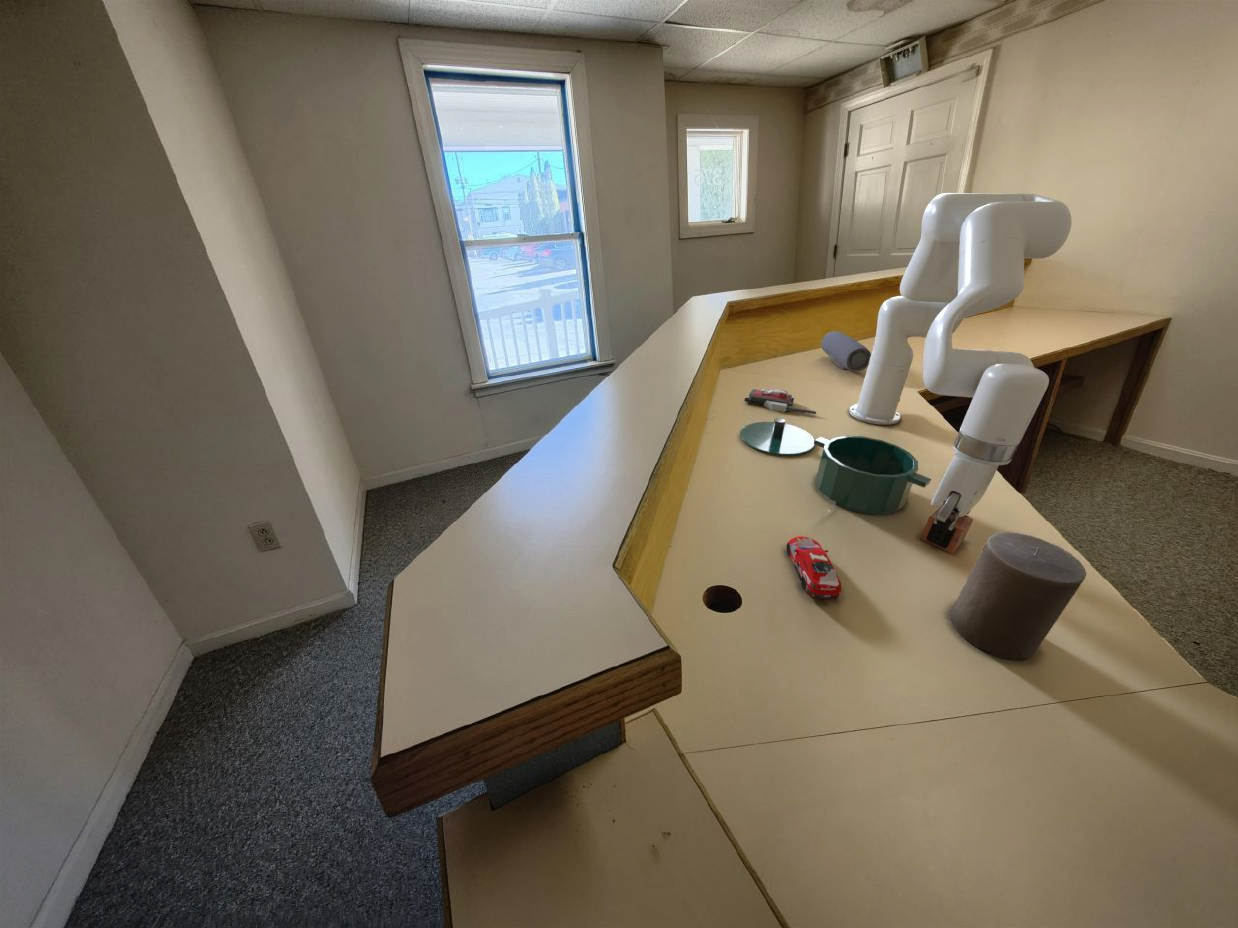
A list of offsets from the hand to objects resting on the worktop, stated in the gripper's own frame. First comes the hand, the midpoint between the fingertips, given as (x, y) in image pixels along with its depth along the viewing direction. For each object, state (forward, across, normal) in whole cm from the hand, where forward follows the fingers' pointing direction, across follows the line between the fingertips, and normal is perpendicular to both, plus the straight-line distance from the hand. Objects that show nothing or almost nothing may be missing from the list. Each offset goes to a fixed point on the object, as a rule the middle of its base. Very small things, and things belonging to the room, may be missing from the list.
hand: (943, 536), depth 79 cm
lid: (0, -10, -41) cm, 42 cm away
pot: (+1, -4, -17) cm, 17 cm away
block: (+1, 0, 0) cm, 1 cm away
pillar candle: (+1, +16, +12) cm, 20 cm away
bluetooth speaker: (+1, -80, -62) cm, 101 cm away
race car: (+1, +25, -10) cm, 27 cm away
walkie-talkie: (+1, -29, -53) cm, 60 cm away
